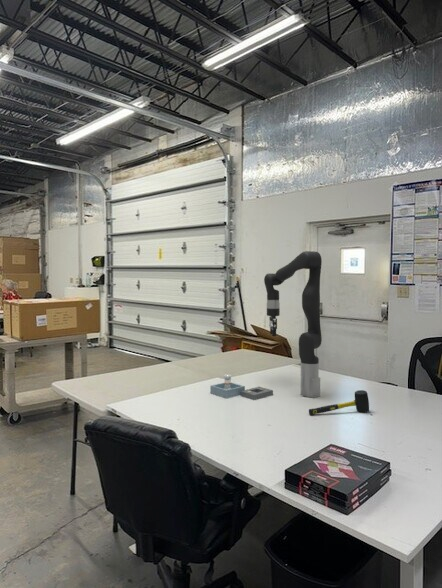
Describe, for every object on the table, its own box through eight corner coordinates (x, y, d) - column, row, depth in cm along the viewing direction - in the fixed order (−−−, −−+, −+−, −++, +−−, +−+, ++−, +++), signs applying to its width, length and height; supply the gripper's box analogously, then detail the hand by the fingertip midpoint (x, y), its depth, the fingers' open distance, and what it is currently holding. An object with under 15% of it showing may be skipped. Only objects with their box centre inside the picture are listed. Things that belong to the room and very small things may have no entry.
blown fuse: (232, 391, 219) (232, 374, 219) (227, 392, 217) (227, 375, 216) (227, 390, 222) (227, 373, 222) (222, 391, 220) (222, 374, 219)
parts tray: (244, 393, 219) (244, 386, 219) (226, 398, 210) (226, 390, 210) (228, 388, 229) (228, 381, 228) (210, 393, 220) (210, 385, 220)
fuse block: (273, 394, 216) (273, 389, 216) (254, 400, 207) (254, 394, 207) (259, 391, 224) (259, 385, 224) (240, 395, 215) (240, 390, 215)
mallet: (312, 417, 181) (312, 396, 181) (306, 413, 187) (306, 392, 186) (371, 413, 187) (372, 392, 187) (364, 409, 193) (364, 388, 192)
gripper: (281, 308, 233) (281, 336, 233) (277, 306, 247) (277, 333, 248) (268, 308, 233) (268, 337, 233) (265, 306, 247) (265, 333, 248)
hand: (273, 335), depth 241 cm, fingers open, 8 cm apart
